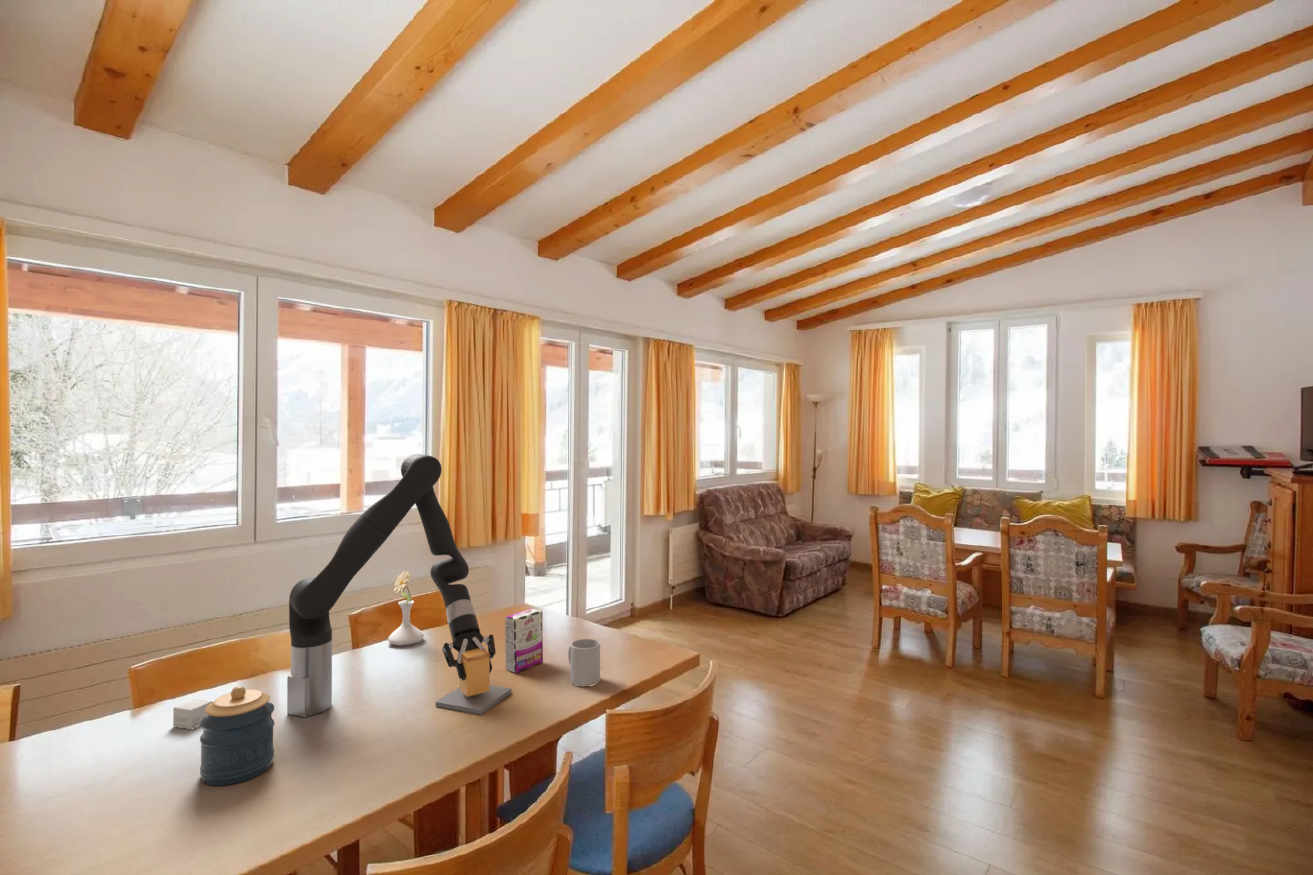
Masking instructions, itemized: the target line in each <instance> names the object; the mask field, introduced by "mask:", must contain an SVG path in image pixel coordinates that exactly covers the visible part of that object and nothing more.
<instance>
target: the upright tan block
mask: <svg viewBox="0 0 1313 875" xmlns="http://www.w3.org/2000/svg"><path fill="white" fill-rule="evenodd" d="M490 661H491V659H490V654H489V653H488V650H486V649H485V650H484V649H479V648H478V649H473V650H468V651H465V653H462V664H464V668H465V672H466V678H465V680H462V679H461V678H459V687H460V690H461V691H462V692H463V693H464V694H465V695H466V696H471V695H475V694H479V693H483V692H487V691H489V685H490V674H489V667H490Z"/></svg>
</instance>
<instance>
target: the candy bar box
mask: <svg viewBox="0 0 1313 875" xmlns="http://www.w3.org/2000/svg"><path fill="white" fill-rule="evenodd" d="M504 618H505V619H504V621H505V622H504V626H505V627H504V629H505V630H504V631H505V632H504V633H505V638H504V639H505V642H504V643H505V670H506V671H508V672H511V673H513V674H517V673H520V672H522V671H525V670H528V669H530V668H532V666H533V667H535V666H538V665H540V664H542V663H543V662H544V652H543V651H544V648H543V644H544V643H543V610H542V609H541V610H540V609H538V608H537V609H536V608H530V609H525V610H523V611H519V612H517V613H512V614H509V615H506V616H505V617H504ZM541 662H542V663H541ZM539 663H540V664H539ZM537 664H538V665H537ZM534 665H535V666H534ZM527 668H528V669H527Z"/></svg>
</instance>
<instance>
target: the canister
mask: <svg viewBox="0 0 1313 875" xmlns="http://www.w3.org/2000/svg"><path fill="white" fill-rule="evenodd" d="M270 699H271V696H270V695H269V694H268V693H266V692H264V691H261V690H259V689H246V688H245V686H243V685H237V686H235V687H233V688H232V690H231V691H230V692H228V693H225V694H222V695H221V696H217V697H216V698H215V700H213V701H212V703H210V704H209V705H208V706H207V707H206V709H205V712H206V715H205V716H204V717H203V718H202V719H201V721H200V725H201V726H200V727H201V728H202V729H203V730H202V734H200V736H199V742H200V766H199V775H200V776H201V781H202V783H204V784H206V785H209V786H214V787H215V786H218V785H220V786H228V784H230V785H234V784H233V783H235V784H238V782H239V783H243V782H245V781H247V780H250V779H253V778H255V777H258V776H259V775H261V774H263V773H264V772H265V771H267V770H268V769H269V768H270V767H271V765H272V764H273V761H274V757H275V748H274V726H275V721H274V719H273V718H272V714H273V712H274V711H275V706H274V704H273V703H272V702H270ZM218 787H219V786H218Z"/></svg>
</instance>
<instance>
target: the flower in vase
mask: <svg viewBox="0 0 1313 875" xmlns="http://www.w3.org/2000/svg"><path fill="white" fill-rule="evenodd" d="M410 580H411V574H410V572H409V571H408V570H406V571H405V570H404V571H403V572H401V573H400V575H399V574H398V576H397V578H396V581H395V583H394V584H393V586H394V588H393V592H394V593H395V595H396V594H398V595H399V594H401V595H402V597H403V598H404V599H405V600H401V601H398V605H399V606H400V609H401V613H402V622H401V624H400V626H399V627H397V628H396V629H394V631H393V632H392V633H390V634H389V636H388V638H387V642H388V643H389V644H391V645H396V646H408V645H412V644H413V645H414V644H416V643H419V642H420V641H422V640H423V639H424V638H425V635H424V633H423V631H422V630H420V629H419V628H418V627H416V626H415V625H414V624H412V623H411V620H410V619H411V616H410V615H411V609H412V606H413V604H414V603H415V601H414V600H413V599H412V593H410V589H409V587H408V585H410ZM405 589H407V592H405ZM407 593H408V594H407Z"/></svg>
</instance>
